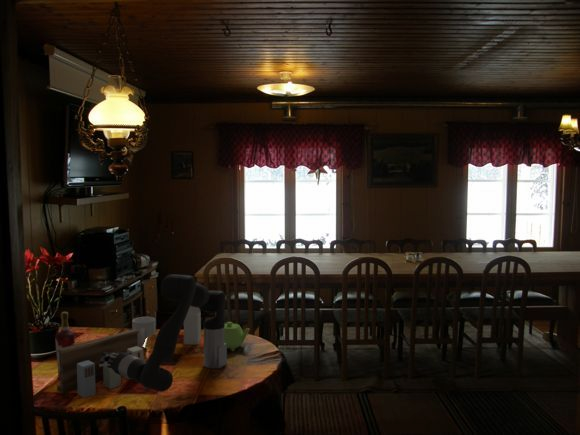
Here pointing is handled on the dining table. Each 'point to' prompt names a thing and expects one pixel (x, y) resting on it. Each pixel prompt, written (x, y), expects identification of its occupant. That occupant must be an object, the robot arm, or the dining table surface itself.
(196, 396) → the dining table surface
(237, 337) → the teapot
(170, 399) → the dining table surface
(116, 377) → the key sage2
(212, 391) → the dining table surface
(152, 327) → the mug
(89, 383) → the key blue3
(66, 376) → the backboard
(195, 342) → the milk carton
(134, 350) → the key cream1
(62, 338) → the liquor
